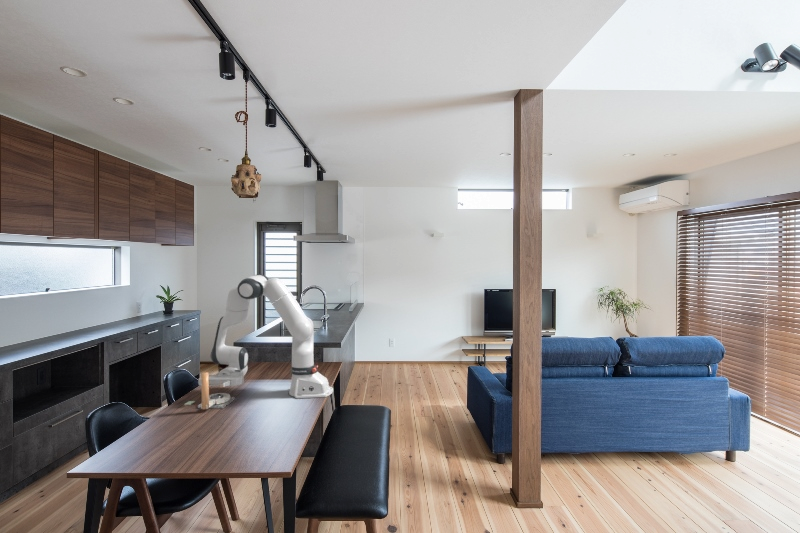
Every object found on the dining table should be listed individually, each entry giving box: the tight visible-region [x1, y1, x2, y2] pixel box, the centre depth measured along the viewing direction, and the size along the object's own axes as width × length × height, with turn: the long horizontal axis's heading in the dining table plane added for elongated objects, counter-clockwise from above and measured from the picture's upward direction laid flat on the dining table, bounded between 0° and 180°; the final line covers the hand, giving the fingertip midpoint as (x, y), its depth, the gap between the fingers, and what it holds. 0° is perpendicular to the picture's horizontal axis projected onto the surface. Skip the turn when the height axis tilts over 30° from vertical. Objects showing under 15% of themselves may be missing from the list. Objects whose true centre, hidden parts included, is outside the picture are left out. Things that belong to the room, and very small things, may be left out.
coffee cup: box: [217, 364, 229, 373], centre depth 224 cm, size 9×8×13 cm
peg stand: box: [200, 371, 231, 410], centre depth 184 cm, size 17×11×16 cm, turn 177°
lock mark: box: [183, 400, 196, 406], centre depth 187 cm, size 3×4×1 cm
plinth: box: [197, 393, 236, 409], centre depth 187 cm, size 12×12×4 cm
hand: (212, 385), depth 183 cm, fingers open, 8 cm apart
